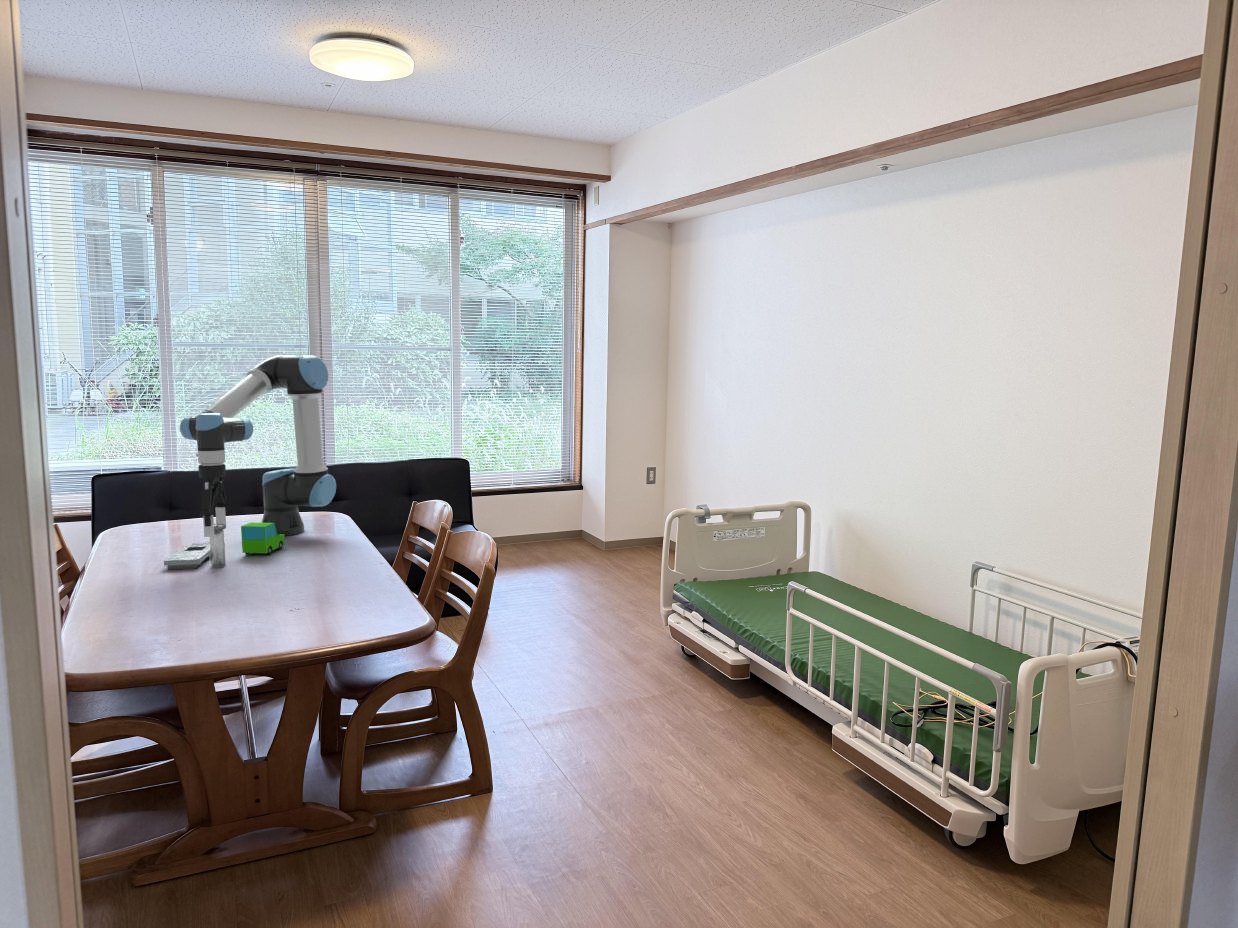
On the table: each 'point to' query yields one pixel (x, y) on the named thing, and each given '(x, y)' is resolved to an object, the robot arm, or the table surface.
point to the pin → (217, 547)
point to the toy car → (261, 538)
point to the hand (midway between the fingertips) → (215, 532)
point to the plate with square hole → (189, 556)
